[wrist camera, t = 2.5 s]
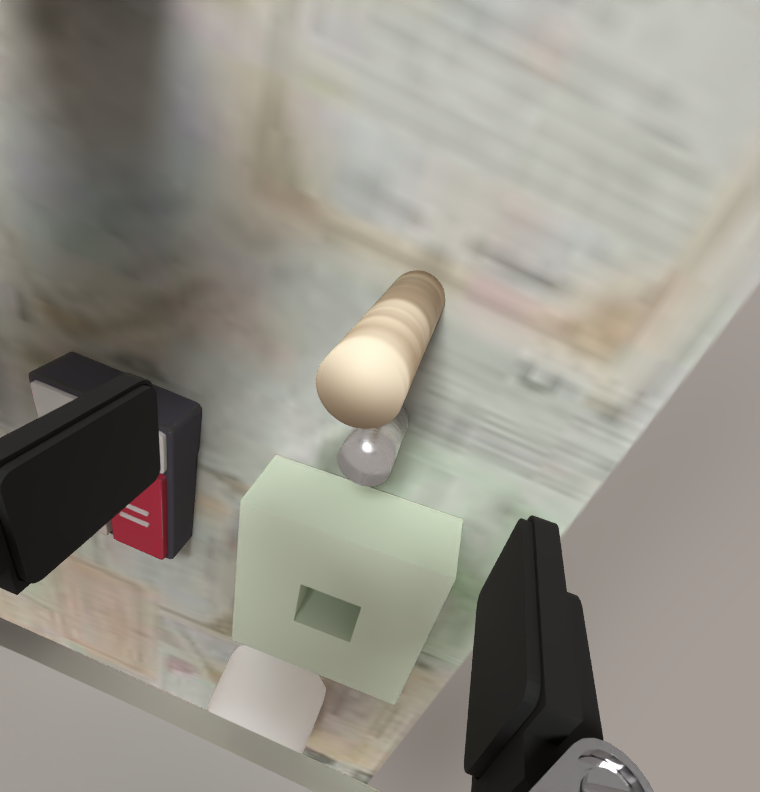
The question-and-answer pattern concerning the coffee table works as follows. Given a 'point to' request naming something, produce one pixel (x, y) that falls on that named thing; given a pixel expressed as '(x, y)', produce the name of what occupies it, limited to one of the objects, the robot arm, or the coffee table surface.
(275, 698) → the teardrop
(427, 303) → the long pin
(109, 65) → the coffee table surface
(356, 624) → the peg block
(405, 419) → the short pin
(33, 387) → the calculator
